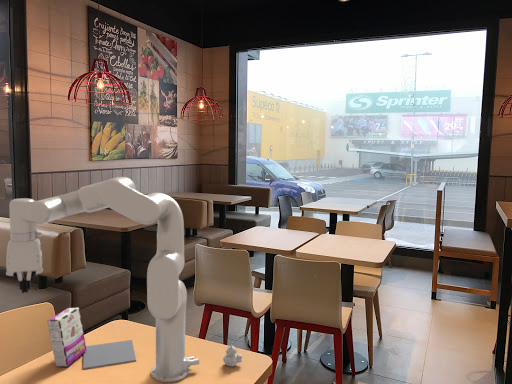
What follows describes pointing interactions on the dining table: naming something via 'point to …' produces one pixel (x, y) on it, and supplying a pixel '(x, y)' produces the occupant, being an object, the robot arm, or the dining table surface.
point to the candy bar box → (67, 336)
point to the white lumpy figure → (232, 356)
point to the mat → (109, 354)
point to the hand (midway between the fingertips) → (25, 291)
